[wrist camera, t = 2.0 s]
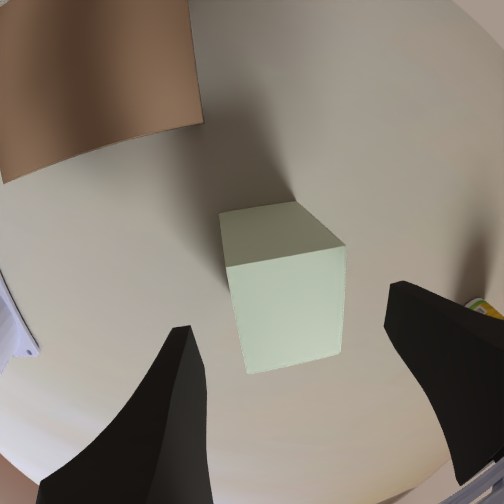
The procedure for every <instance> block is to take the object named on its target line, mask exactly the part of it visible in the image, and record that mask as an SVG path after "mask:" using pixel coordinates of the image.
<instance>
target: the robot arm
mask: <svg viewBox="0 0 504 504" xmlns="http://www.w3.org/2000/svg"><path fill="white" fill-rule="evenodd" d="M384 328H385V330H386V333H387V335H388V337H389V339H390V340H391V342H392V344H393V346H394V348H395V349H396V351H397V352H398V354H399V355H400V357H401V358H402V359H403V361H404V362H405V364H406V365H407V367H408V368H409V369H410V371H411V372H412V374H413V375H414V377H415V378H416V380H417V381H418V382H419V384H420V385H421V387H422V388H423V390H424V392H425V393H426V395H427V397H428V399H429V401H430V403H431V405H432V407H433V409H434V411H435V413H436V416H437V418H438V420H439V423H440V425H441V428H442V430H443V433H444V435H445V438H446V441H447V444H448V447H449V451H450V454H451V458H452V462H453V466H454V471H455V477H456V480H457V481H458V483H459V485H460V486H462V485H463V484H465V483H466V482H468V481H469V480H470V479H472V478H473V477H475V476H476V475H477V474H479V473H480V472H481V471H483V470H484V469H485V468H486V467H488V466H489V465H490V464H492V463H493V462H495V463H496V464H495V465H493V466H492V467H491V468H490V469H488V470H487V471H486V472H484V473H483V474H482V475H480V476H479V477H478V478H476V479H475V480H474V481H472V482H471V483H470V484H468V485H467V486H465V487H464V488H462V489H461V490H459V491H458V492H457V493H455V494H453V495H452V496H450V497H449V498H447V499H445V500H444V501H442V502H440V503H439V504H469V503H470V502H472V501H473V500H475V499H476V498H477V497H479V496H480V495H481V494H482V493H484V492H485V491H486V490H488V489H489V488H490V487H491V486H493V487H492V492H491V493H490V494H488V495H487V496H485V497H484V498H482V499H481V500H480V501H478V502H477V503H475V504H504V320H501V319H498V318H495V317H492V316H488V315H485V314H482V313H480V312H477V311H474V310H472V309H469V308H467V307H464V306H462V305H460V304H457V303H455V302H453V301H450V300H448V299H446V298H444V297H441V296H439V295H437V294H435V293H433V292H430V291H428V290H426V289H424V288H422V287H419V286H417V285H414V284H412V283H409V282H406V281H399V282H396V283H392V284H390V290H389V297H388V304H387V310H386V316H385V322H384ZM39 354H40V349H39V347H38V346H37V344H36V343H35V341H34V339H33V337H32V336H31V334H30V332H29V331H28V329H27V327H26V325H25V323H24V322H23V320H22V318H21V316H20V314H19V312H18V310H17V308H16V306H15V304H14V302H13V300H12V298H11V296H10V294H9V292H8V290H7V287H6V285H5V283H4V281H3V278H2V276H1V274H0V377H1V375H2V373H3V372H4V370H5V368H6V366H7V364H8V363H9V361H10V359H11V358H12V357H38V356H39ZM206 416H207V388H206V378H205V368H204V364H203V361H202V359H201V356H200V353H199V350H198V347H197V344H196V341H195V338H194V335H193V331H192V328H191V325H188V326H182V327H175V328H172V330H171V331H170V333H169V335H168V337H167V339H166V341H165V342H164V344H163V346H162V348H161V350H160V351H159V353H158V355H157V357H156V359H155V360H154V362H153V364H152V365H151V367H150V369H149V370H148V372H147V374H146V375H145V377H144V378H143V380H142V381H141V383H140V384H139V386H138V387H137V389H136V390H135V392H134V394H133V395H132V396H131V398H130V399H129V400H128V402H127V403H126V405H125V406H124V407H123V408H122V410H121V411H120V412H119V413H118V415H117V416H116V417H115V418H114V419H113V421H112V422H111V423H110V424H109V425H108V426H107V427H106V428H105V429H104V430H103V431H102V432H101V433H100V434H99V435H98V437H97V438H96V439H95V440H94V441H93V442H92V443H90V444H89V445H88V446H87V447H86V448H85V449H84V450H83V451H82V452H80V453H79V454H78V455H77V456H76V457H74V458H73V459H72V460H71V461H69V462H68V463H67V464H65V465H64V466H63V467H61V468H60V469H58V470H57V471H55V472H54V473H52V474H51V475H49V476H48V477H46V478H45V479H43V480H41V482H40V485H39V490H38V495H37V501H36V504H213V498H212V492H211V486H210V479H209V472H208V464H207V453H206Z"/></svg>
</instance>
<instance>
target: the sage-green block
mask: <svg viewBox="0 0 504 504" xmlns="http://www.w3.org/2000/svg"><path fill="white" fill-rule="evenodd" d="M219 221H220V229H221V237H222V244H223V252H224V259H225V266H226V272H227V277H228V283H229V288H230V293H231V298H232V303H233V308H234V313H235V318H236V323H237V328H238V333H239V338H240V343H241V348H242V352H243V357H244V362H245V367H246V371H247V374H253V373H258V372H263V371H268V370H273V369H278V368H283V367H287V366H292V365H296V364H300V363H305V362H309V361H313V360H317V359H321V358H325V357H328V356H332V355H336V354H339V353H340V351H341V340H342V328H343V314H344V298H345V275H346V245H345V244H344V243H343V242H342V241H341V240H340V239H338V238H337V237H336V236H335V235H334V234H333V233H332V232H331V231H330V230H329V229H328V228H326V227H325V226H324V225H323V224H322V223H321V222H320V221H319V220H318V219H316V218H315V217H314V216H313V215H312V214H311V213H310V212H309V211H307V210H306V209H305V208H304V207H303V206H302V205H301V204H299V203H298V202H297V201H292V202H285V203H278V204H272V205H265V206H259V207H252V208H246V209H240V210H234V211H228V212H222V213H219Z"/></svg>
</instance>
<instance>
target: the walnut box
mask: <svg viewBox="0 0 504 504" xmlns="http://www.w3.org/2000/svg"><path fill="white" fill-rule="evenodd" d="M203 123H204V118H203V112H202V105H201V98H200V91H199V84H198V77H197V69H196V62H195V55H194V47H193V39H192V31H191V23H190V15H189V6H188V0H10V1H8V2H7V3H5V4H4V5H3V6H1V7H0V171H1V175H2V180H3V184H5V183H7V182H10V181H12V180H15V179H17V178H20V177H22V176H25V175H27V174H30V173H32V172H35V171H37V170H40V169H42V168H45V167H47V166H50V165H53V164H55V163H58V162H61V161H63V160H66V159H69V158H72V157H75V156H77V155H80V154H83V153H86V152H90V151H93V150H96V149H99V148H102V147H106V146H109V145H112V144H116V143H119V142H123V141H127V140H130V139H134V138H138V137H142V136H146V135H150V134H154V133H159V132H163V131H168V130H172V129H177V128H182V127H187V126H192V125H198V124H203Z"/></svg>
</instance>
